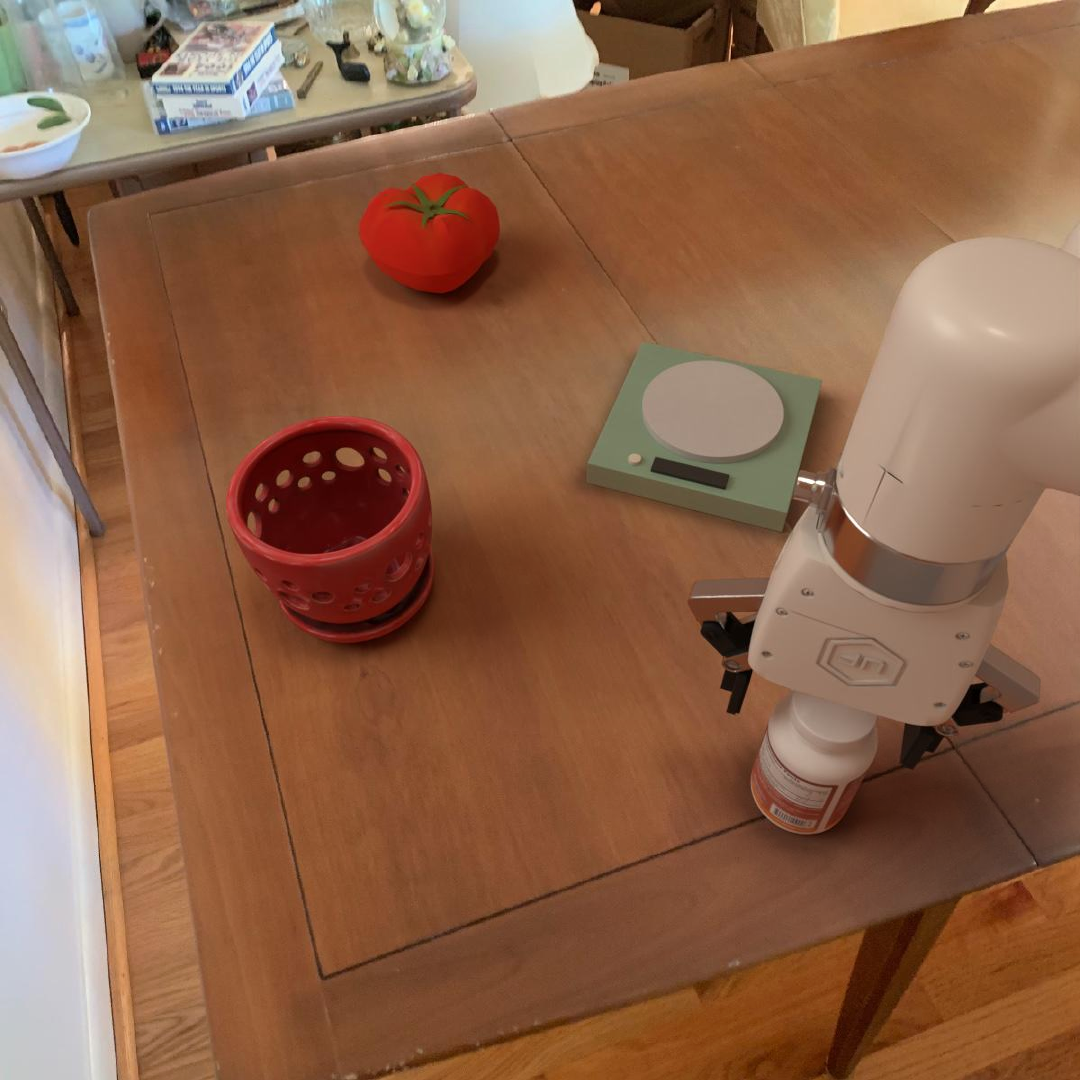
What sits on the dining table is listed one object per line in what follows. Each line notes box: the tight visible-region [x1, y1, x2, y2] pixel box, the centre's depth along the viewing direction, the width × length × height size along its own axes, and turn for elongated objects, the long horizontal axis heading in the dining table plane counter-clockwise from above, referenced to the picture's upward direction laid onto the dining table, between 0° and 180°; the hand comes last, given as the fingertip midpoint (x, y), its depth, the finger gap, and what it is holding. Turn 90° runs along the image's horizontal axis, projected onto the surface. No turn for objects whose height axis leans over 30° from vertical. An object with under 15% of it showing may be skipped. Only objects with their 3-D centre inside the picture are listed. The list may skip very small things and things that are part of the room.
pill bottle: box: [750, 689, 879, 835], centre depth 58 cm, size 6×6×11 cm
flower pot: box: [225, 415, 436, 644], centre depth 68 cm, size 13×13×12 cm
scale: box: [586, 341, 823, 533], centre depth 81 cm, size 16×16×3 cm
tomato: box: [358, 172, 501, 294], centre depth 94 cm, size 14×13×9 cm
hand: (821, 718), depth 55 cm, fingers open, 9 cm apart
